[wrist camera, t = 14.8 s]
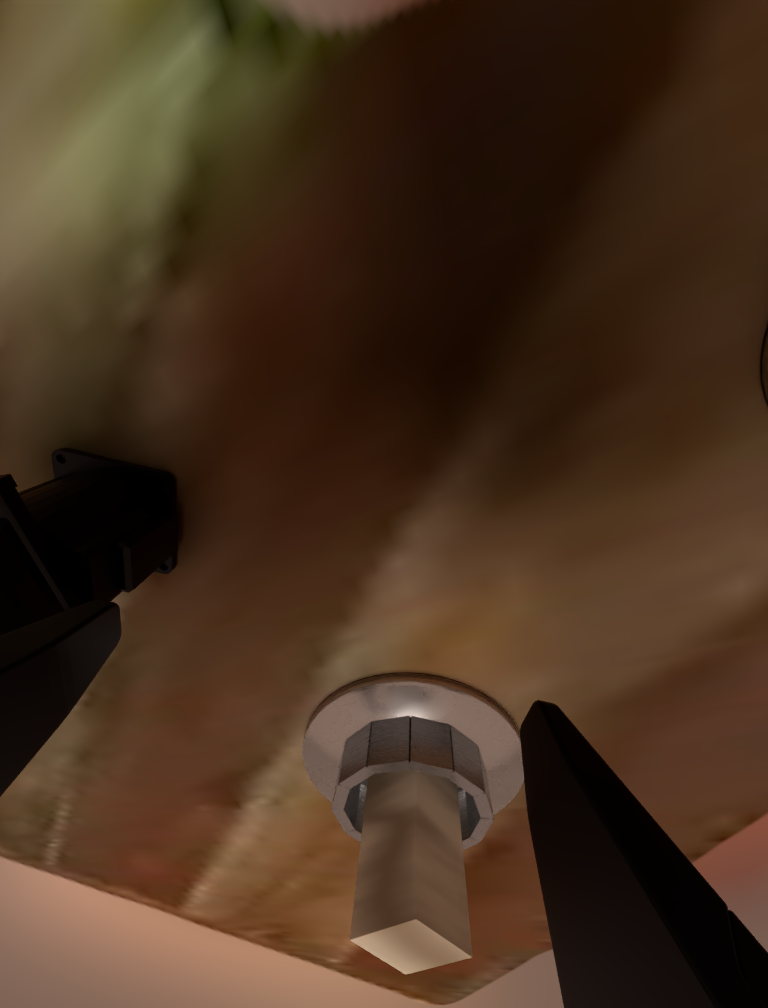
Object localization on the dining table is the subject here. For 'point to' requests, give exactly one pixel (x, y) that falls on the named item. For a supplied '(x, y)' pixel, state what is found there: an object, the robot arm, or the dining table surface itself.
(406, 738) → the steel rosette
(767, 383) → the jar
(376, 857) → the wedge pin
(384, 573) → the dining table surface
